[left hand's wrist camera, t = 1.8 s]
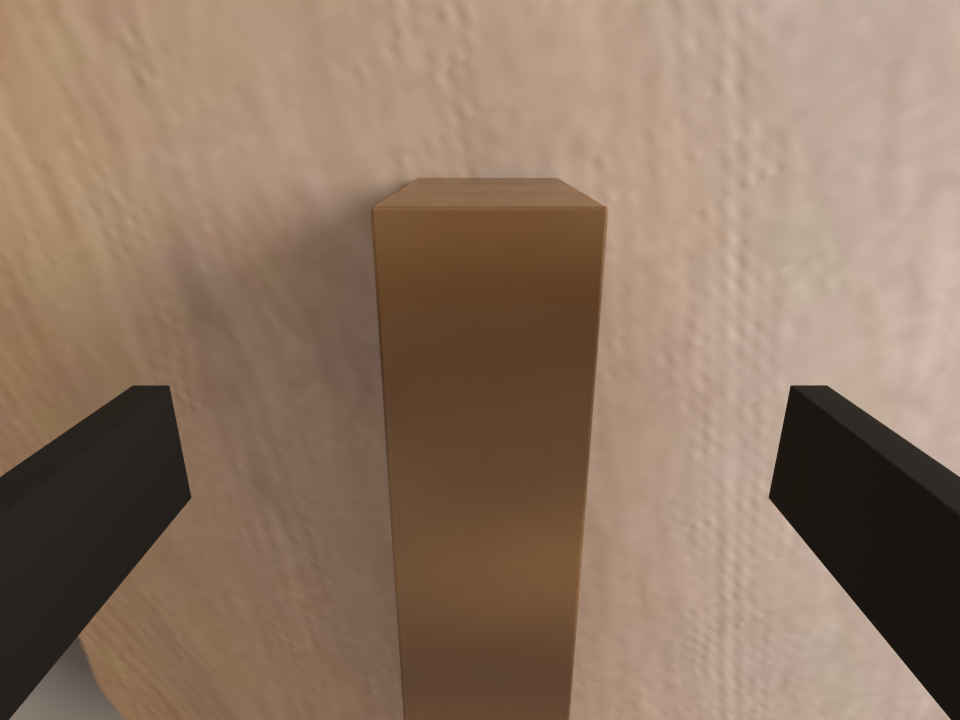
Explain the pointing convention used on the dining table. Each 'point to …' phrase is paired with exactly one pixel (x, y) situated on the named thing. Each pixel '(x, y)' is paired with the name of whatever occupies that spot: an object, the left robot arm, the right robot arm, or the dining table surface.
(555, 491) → the bar
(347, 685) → the dining table surface
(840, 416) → the left robot arm
